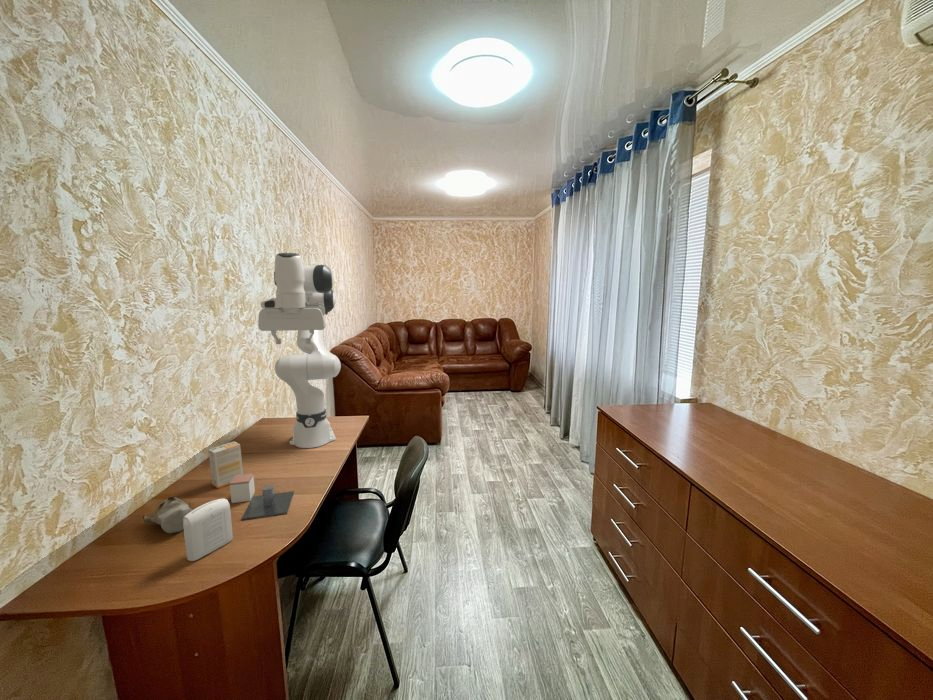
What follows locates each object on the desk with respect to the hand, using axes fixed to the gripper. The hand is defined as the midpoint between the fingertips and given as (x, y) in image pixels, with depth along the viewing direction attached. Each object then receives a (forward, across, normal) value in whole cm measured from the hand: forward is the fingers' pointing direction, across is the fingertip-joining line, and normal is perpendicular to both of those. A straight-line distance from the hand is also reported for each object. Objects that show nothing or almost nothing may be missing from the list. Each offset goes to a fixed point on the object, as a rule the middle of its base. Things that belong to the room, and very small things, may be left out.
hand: (294, 343), depth 123 cm
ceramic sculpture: (+48, +31, +20) cm, 61 cm away
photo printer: (+48, +17, +34) cm, 62 cm away
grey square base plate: (+48, +7, +17) cm, 52 cm away
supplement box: (+48, +24, -2) cm, 54 cm away
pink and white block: (+48, +16, +10) cm, 52 cm away
